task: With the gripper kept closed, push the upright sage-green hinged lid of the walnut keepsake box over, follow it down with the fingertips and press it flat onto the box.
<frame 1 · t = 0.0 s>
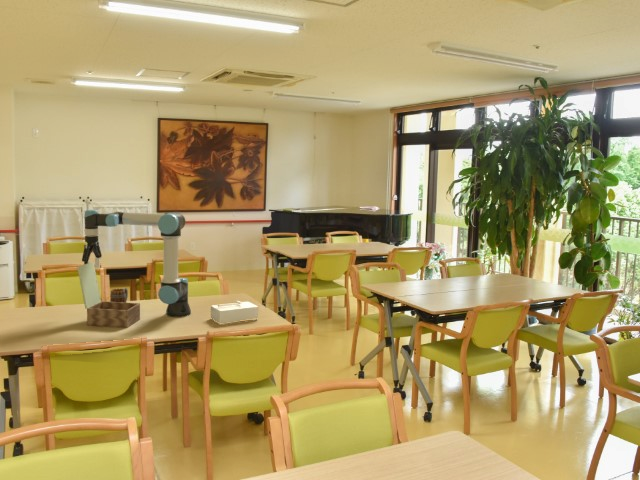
hand: (92, 270, 355), 28 cm above the table, fingers open, 13 cm apart
lid: (89, 284, 343), point 22 cm above the table, hinge at 100.0°
tissue box: (234, 320, 360), on the table
box: (114, 322, 345), on the table
mug: (120, 312, 367), on the table
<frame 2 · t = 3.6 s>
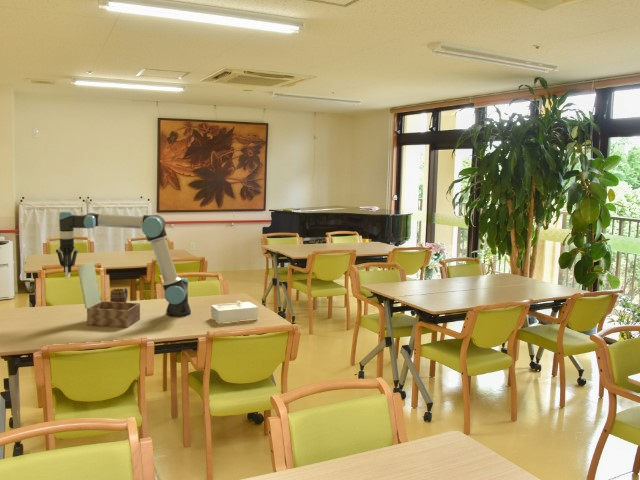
hand: (67, 277, 344), 25 cm above the table, fingers closed
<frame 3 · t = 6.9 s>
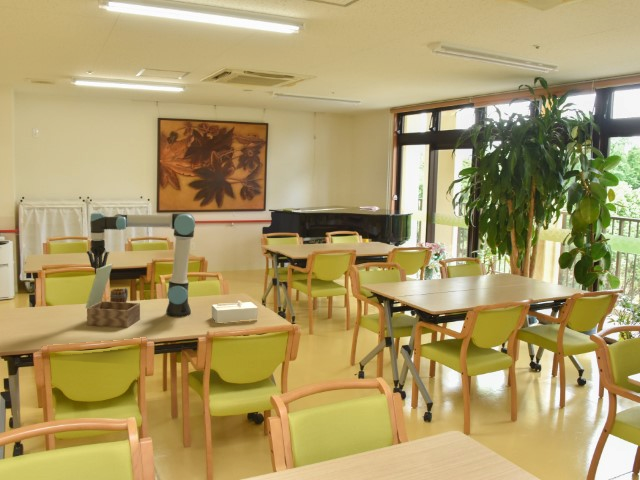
hand: (98, 279, 342), 25 cm above the table, fingers closed
lid: (99, 285, 343), point 22 cm above the table, hinge at 71.5°, touching gripper, hand
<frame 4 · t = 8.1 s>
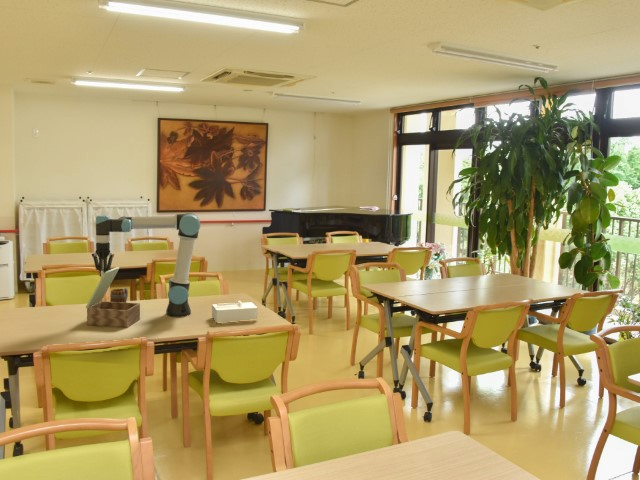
hand: (103, 282, 342), 24 cm above the table, fingers closed
lid: (103, 287, 343), point 21 cm above the table, hinge at 60.6°, touching gripper
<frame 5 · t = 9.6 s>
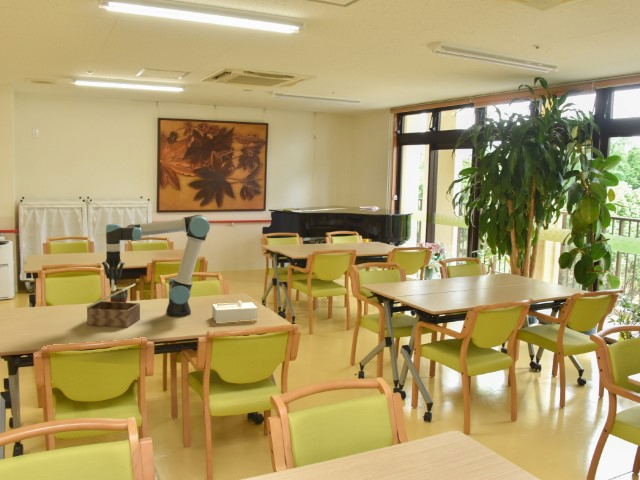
hand: (113, 290, 342), 19 cm above the table, fingers closed
lid: (111, 295, 343), point 16 cm above the table, hinge at 27.3°
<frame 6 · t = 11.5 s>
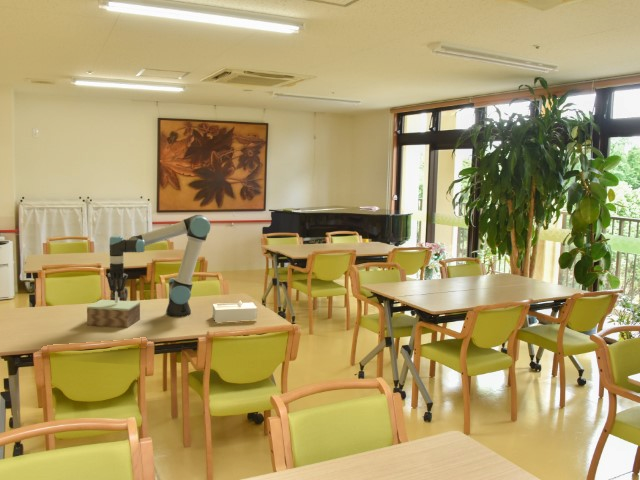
hand: (117, 302, 343), 12 cm above the table, fingers closed
lid: (114, 304, 344), point 11 cm above the table, hinge at -0.1°
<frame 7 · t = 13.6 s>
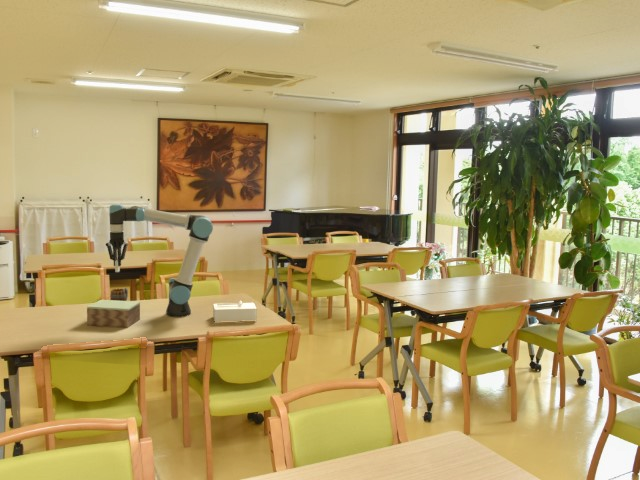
hand: (117, 271, 341), 30 cm above the table, fingers closed
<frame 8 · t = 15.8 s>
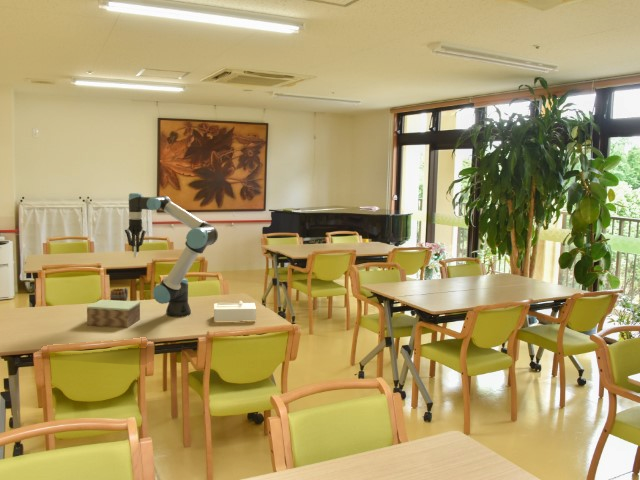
hand: (135, 257, 357), 36 cm above the table, fingers closed
at the end: lid at +0° (first picture: +100°) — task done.
